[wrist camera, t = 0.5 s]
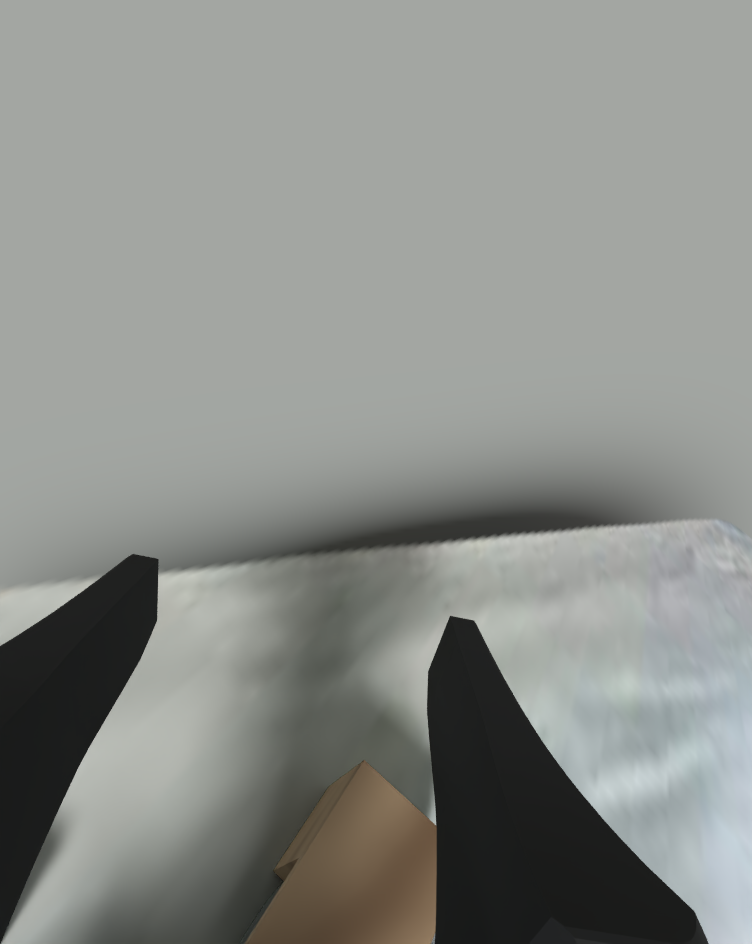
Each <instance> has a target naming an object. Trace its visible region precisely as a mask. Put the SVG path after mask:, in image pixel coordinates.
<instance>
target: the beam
mask: <svg viewBox="0 0 752 944" xmlns="http://www.w3.org/2000/svg"><path fill="white" fill-rule="evenodd" d="M273 871H274V872H275V873H276V874H277V875H278V876H279V877H280V878H281V879H282V880H283V881H284V883H283V884H282V886H281V887H280V889H279V891H278V892H277V894H276V895H275V897H274V898H273V900H272V902H271V903H270V905H269V906H268V908H267V909H266V911H265V913H264V914H263V916H262V917H261V919H260V920H259V922H258V924H257V925H256V927H255V928H254V930H253V931H252V933H251V935H250V936H249V938H248V939H247V941H246V942H245V944H431V942H432V939H433V937H434V934H435V930H436V875H437V826H436V825H435V824H434V823H433V822H431V821H430V820H429V819H428V818H427V817H426V816H425V815H424V814H423V813H422V812H421V811H419V810H418V809H417V808H416V807H415V806H414V805H413V804H412V803H411V802H410V801H408V800H407V799H406V798H405V797H404V796H403V795H402V794H401V793H400V792H399V791H398V790H396V789H395V788H394V787H393V786H392V785H391V784H390V783H389V782H388V781H387V780H386V779H384V778H383V777H382V776H381V775H380V774H379V773H378V772H377V771H376V770H375V769H373V768H372V767H371V766H370V765H369V764H368V763H367V762H366V761H365V760H364V761H362V762H361V763H360V764H358V765H357V766H356V767H354V768H353V769H352V770H350V771H349V772H348V773H346V774H345V775H344V776H342V777H341V778H340V779H338V780H337V781H335V782H334V783H333V784H331V785H330V786H329V787H328V788H327V790H326V791H325V793H324V794H323V796H322V797H321V799H320V800H319V802H318V804H317V805H316V807H315V808H314V810H313V811H312V813H311V814H310V816H309V817H308V819H307V820H306V822H305V823H304V825H303V826H302V828H301V829H300V831H299V832H298V834H297V835H296V837H295V838H294V840H293V841H292V843H291V844H290V846H289V847H288V849H287V850H286V852H285V853H284V855H283V857H282V858H281V860H280V861H279V863H278V864H277V866H276V867H275V869H274V870H273Z"/></svg>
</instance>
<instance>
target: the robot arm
mask: <svg viewBox="0 0 752 944" xmlns="http://www.w3.org/2000/svg"><path fill="white" fill-rule="evenodd" d="M157 601H158V559H156V558H150V557H145V556H140V555H135V554H132V555H131V556H129V557H127V558H126V559H125V560H123V561H122V562H121V563H119V564H118V565H117V566H116V567H114V568H113V569H112V570H110V571H109V572H108V573H106V574H105V575H104V576H102V577H101V578H100V579H99V580H97V581H96V582H95V583H93V584H92V585H90V586H89V587H88V588H86V589H85V590H84V591H82V592H81V593H80V594H78V595H77V596H75V597H74V598H73V599H71V600H70V601H68V602H67V603H66V604H64V605H63V606H61V607H60V608H59V609H57V610H56V611H54V612H53V613H51V614H50V615H48V616H47V617H45V618H44V619H42V620H41V621H39V622H38V623H36V624H35V625H33V626H31V627H30V628H28V629H27V630H25V631H24V632H22V633H21V634H19V635H18V636H16V637H14V638H13V639H11V640H9V641H8V642H6V643H5V644H3V645H1V646H0V944H1V941H2V939H3V936H4V934H5V931H6V929H7V926H8V924H9V922H10V919H11V917H12V914H13V912H14V910H15V907H16V905H17V903H18V900H19V898H20V896H21V893H22V891H23V889H24V886H25V884H26V882H27V879H28V877H29V875H30V872H31V870H32V868H33V865H34V863H35V861H36V858H37V856H38V854H39V852H40V850H41V847H42V845H43V843H44V841H45V838H46V836H47V834H48V832H49V830H50V827H51V825H52V823H53V821H54V818H55V816H56V814H57V812H58V810H59V807H60V805H61V803H62V801H63V799H64V797H65V795H66V793H67V790H68V788H69V786H70V784H71V782H72V780H73V778H74V775H75V773H76V771H77V769H78V767H79V765H80V763H81V761H82V760H83V758H84V756H85V754H86V752H87V750H88V748H89V746H90V745H91V743H92V741H93V740H94V738H95V736H96V735H97V733H98V731H99V729H100V728H101V726H102V724H103V723H104V721H105V719H106V717H107V716H108V714H109V712H110V711H111V709H112V707H113V706H114V704H115V702H116V700H117V699H118V697H119V695H120V694H121V692H122V690H123V688H124V687H125V685H126V683H127V682H128V680H129V678H130V676H131V675H132V673H133V671H134V669H135V668H136V666H137V664H138V662H139V661H140V659H141V656H142V654H143V652H144V650H145V647H146V645H147V643H148V641H149V638H150V636H151V634H152V631H153V629H154V626H155V624H156V622H157ZM427 716H428V728H429V740H430V751H431V762H432V773H433V784H434V795H435V806H436V825H437V875H436V930H435V944H708V941H707V938H706V936H705V934H704V932H703V929H702V927H701V925H700V923H699V921H698V918H697V916H696V914H695V912H694V911H693V910H692V909H691V908H690V907H689V906H688V905H687V904H686V903H685V902H684V901H683V900H682V899H681V898H680V897H679V896H678V895H677V894H676V893H675V892H673V891H672V890H671V889H670V888H669V887H668V886H667V885H666V884H665V883H664V882H663V881H662V880H661V879H660V878H659V877H658V876H657V875H656V874H655V873H654V872H652V871H651V870H650V869H649V868H648V867H647V866H646V865H645V864H644V863H643V862H642V861H641V860H640V859H639V857H638V856H637V855H636V854H635V853H634V852H633V851H632V850H631V849H630V848H629V847H628V846H627V845H626V844H625V843H624V842H623V841H622V840H621V839H620V838H619V836H618V835H617V834H616V833H615V832H614V831H613V830H612V829H611V828H610V826H609V825H608V824H607V823H606V822H605V821H604V820H603V819H602V817H601V816H600V815H599V814H598V813H597V812H596V810H595V809H594V808H593V807H592V806H591V804H590V803H589V802H588V801H587V800H586V799H585V797H584V796H583V795H582V794H581V793H580V791H579V790H578V789H577V788H576V786H575V785H574V784H573V783H572V781H571V780H570V779H569V778H568V776H567V775H566V774H565V772H564V771H563V770H562V768H561V767H560V766H559V764H558V763H557V761H556V760H555V759H554V757H553V756H552V755H551V753H550V752H549V750H548V749H547V748H546V746H545V745H544V743H543V742H542V740H541V739H540V737H539V736H538V734H537V733H536V731H535V729H534V728H533V726H532V725H531V723H530V722H529V720H528V718H527V717H526V715H525V714H524V712H523V710H522V709H521V707H520V705H519V704H518V702H517V700H516V698H515V697H514V695H513V693H512V691H511V690H510V688H509V686H508V684H507V683H506V681H505V679H504V677H503V675H502V674H501V672H500V670H499V668H498V666H497V664H496V662H495V660H494V658H493V657H492V655H491V653H490V651H489V649H488V647H487V645H486V643H485V641H484V639H483V637H482V635H481V633H480V631H479V629H478V627H477V625H476V623H475V622H474V621H473V620H468V619H463V618H458V617H453V616H450V618H449V620H448V623H447V625H446V628H445V630H444V633H443V635H442V638H441V640H440V643H439V645H438V648H437V651H436V653H435V656H434V658H433V661H432V663H431V666H430V668H429V671H428V696H427Z"/></svg>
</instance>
